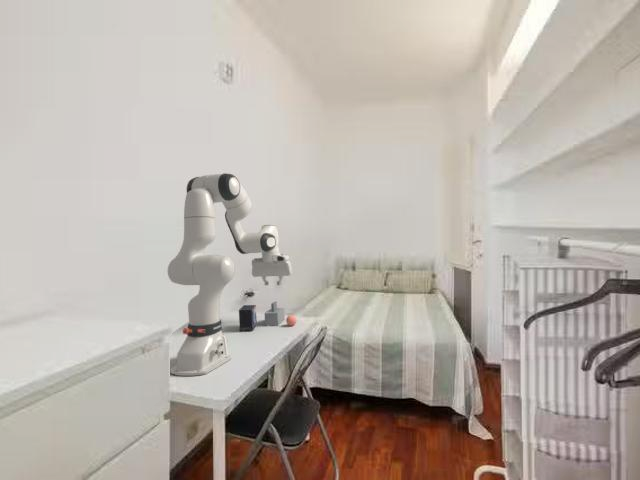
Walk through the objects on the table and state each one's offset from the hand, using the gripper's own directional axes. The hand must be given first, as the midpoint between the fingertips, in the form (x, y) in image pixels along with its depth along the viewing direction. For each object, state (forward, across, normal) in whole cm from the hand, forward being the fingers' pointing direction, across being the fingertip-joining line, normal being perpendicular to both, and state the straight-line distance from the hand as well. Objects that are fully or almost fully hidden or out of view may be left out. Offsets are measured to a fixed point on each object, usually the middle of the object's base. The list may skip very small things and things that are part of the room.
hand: (272, 285), depth 183 cm
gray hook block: (+19, 0, 0) cm, 19 cm away
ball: (+17, +10, -5) cm, 20 cm away
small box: (+19, -10, -10) cm, 24 cm away
